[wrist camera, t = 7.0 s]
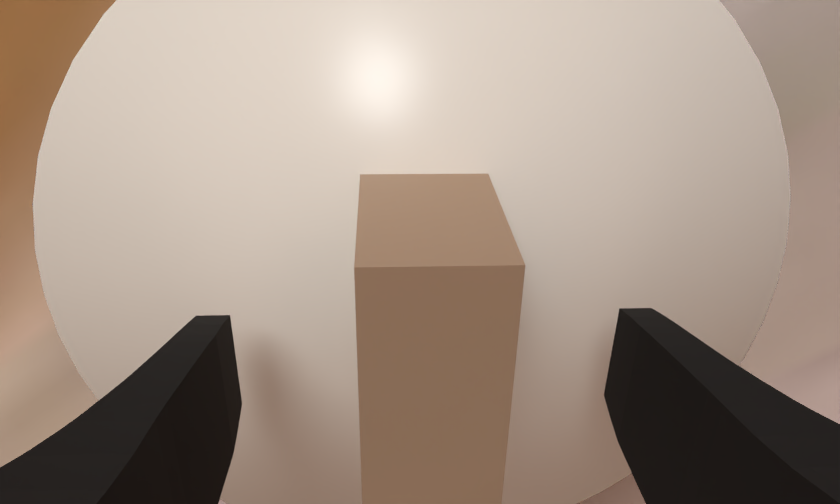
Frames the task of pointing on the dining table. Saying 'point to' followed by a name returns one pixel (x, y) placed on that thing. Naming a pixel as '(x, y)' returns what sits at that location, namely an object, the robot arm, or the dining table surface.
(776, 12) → the dining table surface
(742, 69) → the cover
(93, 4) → the dining table surface
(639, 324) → the robot arm
